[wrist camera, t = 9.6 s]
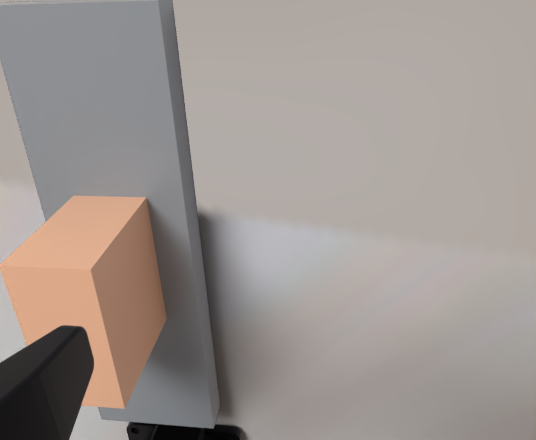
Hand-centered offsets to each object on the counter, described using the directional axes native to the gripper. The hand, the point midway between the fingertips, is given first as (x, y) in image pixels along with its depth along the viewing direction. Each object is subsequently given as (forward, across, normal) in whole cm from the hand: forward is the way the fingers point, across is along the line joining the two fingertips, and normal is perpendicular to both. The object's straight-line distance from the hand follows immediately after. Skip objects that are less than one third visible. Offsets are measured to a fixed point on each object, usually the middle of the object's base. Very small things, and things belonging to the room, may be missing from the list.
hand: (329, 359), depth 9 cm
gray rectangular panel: (+12, +9, +5) cm, 16 cm away
